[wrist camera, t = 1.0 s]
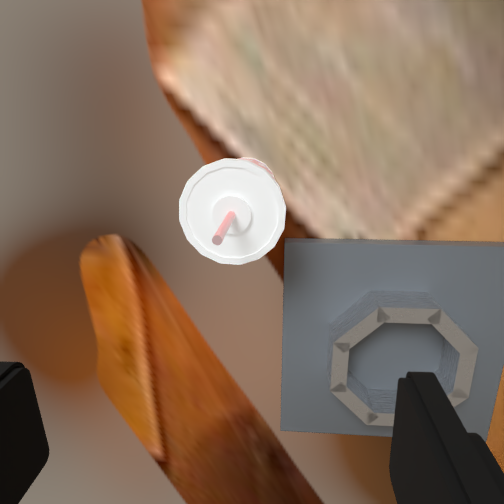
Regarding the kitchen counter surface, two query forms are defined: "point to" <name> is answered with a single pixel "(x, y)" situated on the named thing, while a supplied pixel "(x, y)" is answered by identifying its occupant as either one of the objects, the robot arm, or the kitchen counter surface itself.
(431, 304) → the steel collar
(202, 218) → the beverage cup
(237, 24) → the kitchen counter surface
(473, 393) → the plate
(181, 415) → the kitchen counter surface
